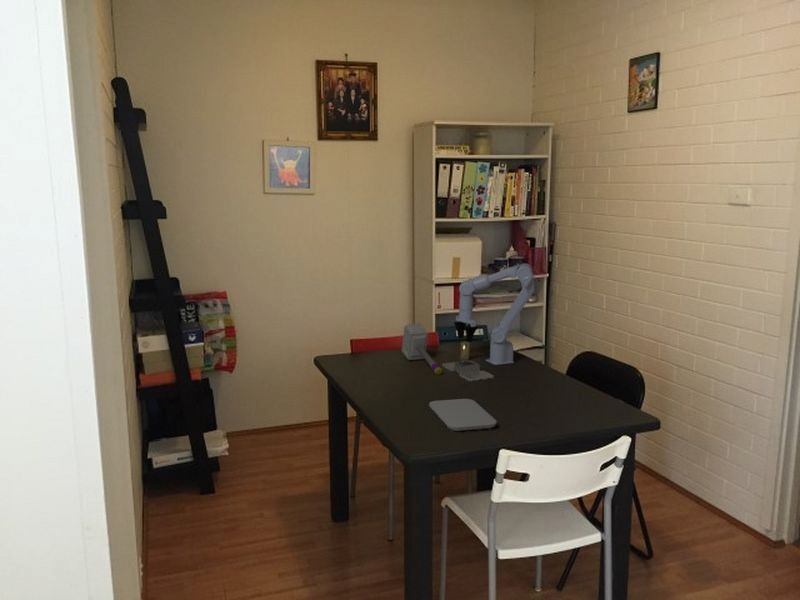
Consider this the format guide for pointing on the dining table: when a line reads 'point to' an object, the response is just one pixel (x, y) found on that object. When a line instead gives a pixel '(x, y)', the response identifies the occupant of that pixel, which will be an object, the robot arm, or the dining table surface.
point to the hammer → (417, 345)
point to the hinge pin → (464, 351)
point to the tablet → (462, 414)
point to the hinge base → (468, 370)
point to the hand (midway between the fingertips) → (465, 339)
